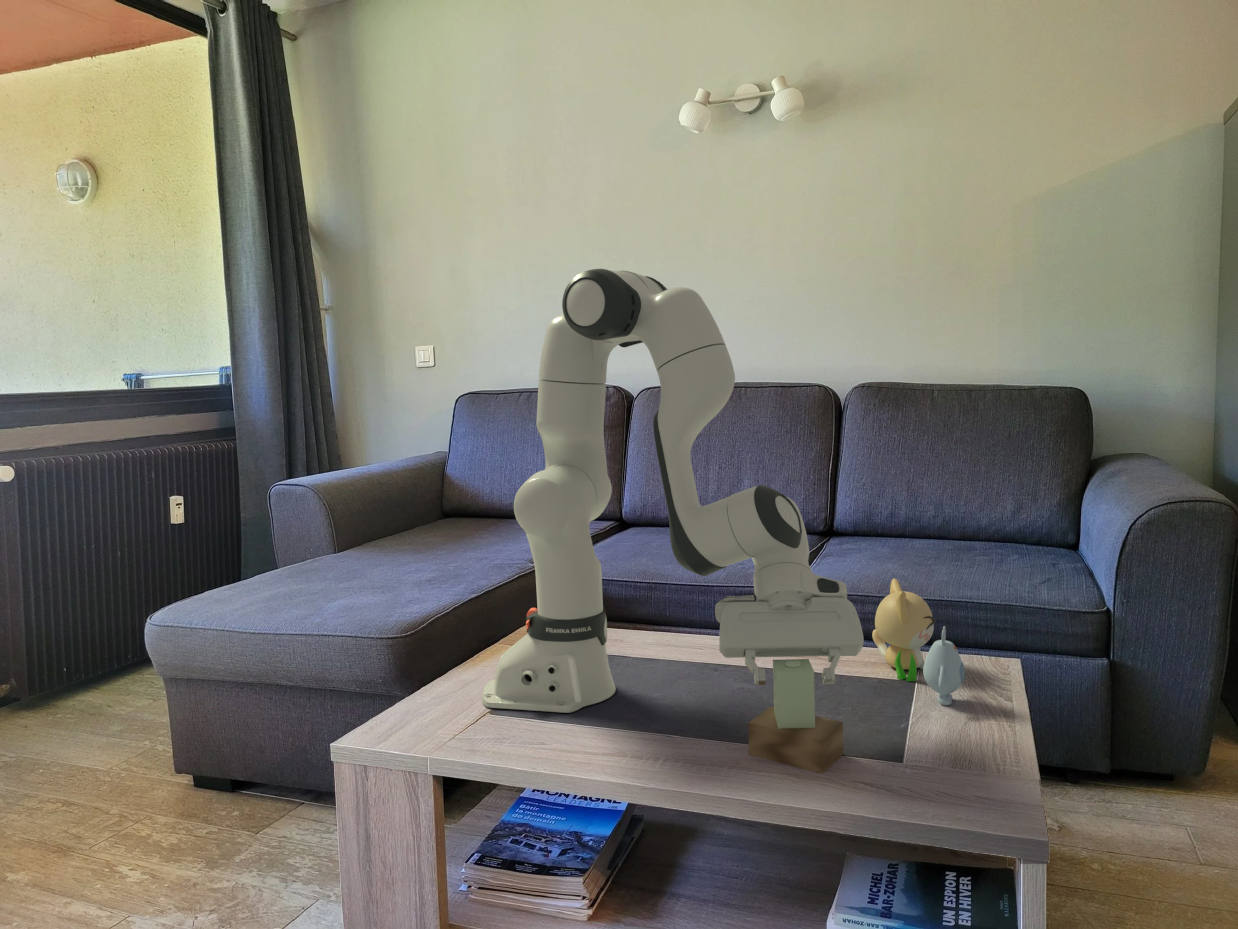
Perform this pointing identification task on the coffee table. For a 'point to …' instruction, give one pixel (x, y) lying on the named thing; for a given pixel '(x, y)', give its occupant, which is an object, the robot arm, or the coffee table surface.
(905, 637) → the kitten
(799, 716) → the green brick
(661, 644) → the coffee table surface
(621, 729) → the coffee table surface
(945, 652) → the toy figure
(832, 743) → the base brick
